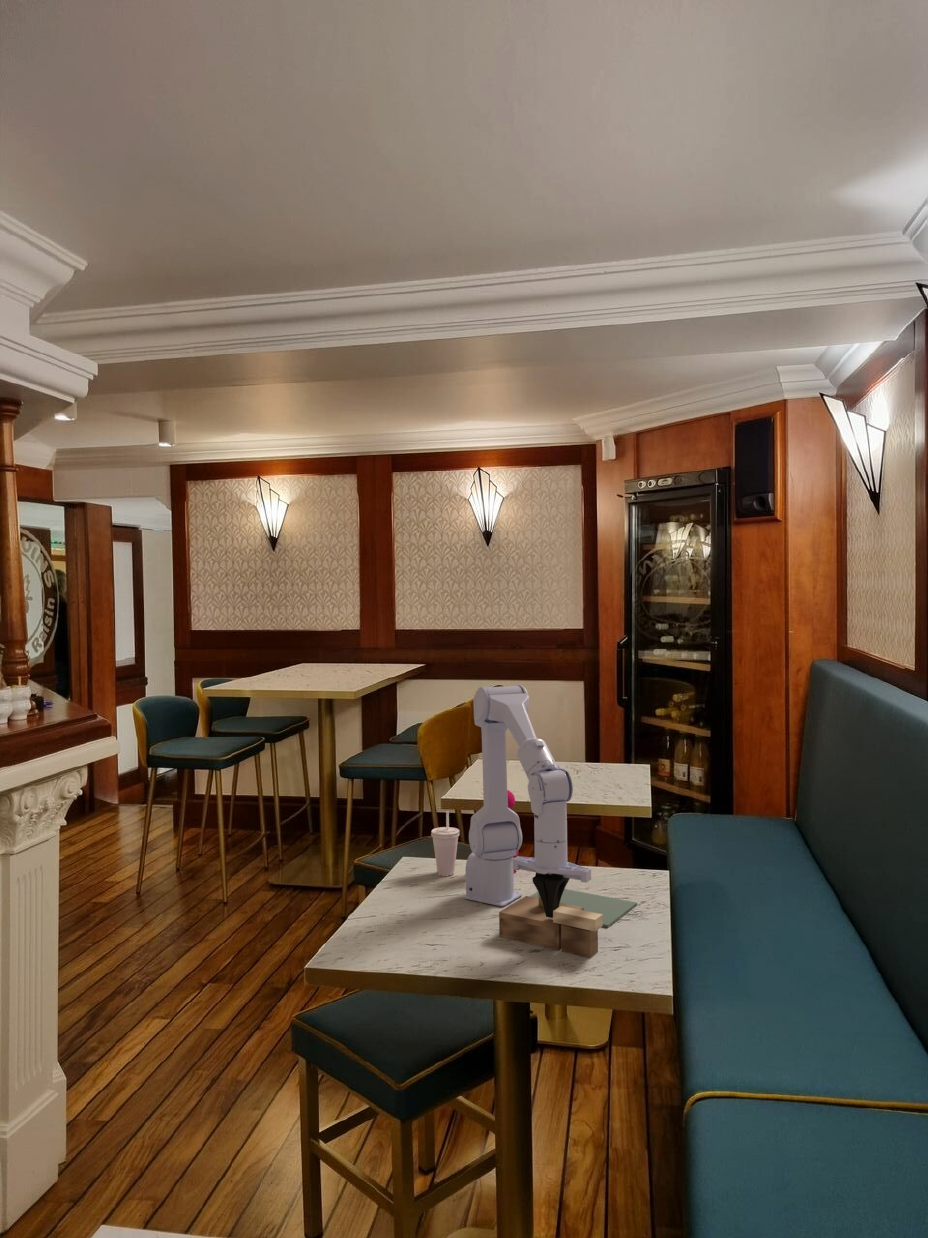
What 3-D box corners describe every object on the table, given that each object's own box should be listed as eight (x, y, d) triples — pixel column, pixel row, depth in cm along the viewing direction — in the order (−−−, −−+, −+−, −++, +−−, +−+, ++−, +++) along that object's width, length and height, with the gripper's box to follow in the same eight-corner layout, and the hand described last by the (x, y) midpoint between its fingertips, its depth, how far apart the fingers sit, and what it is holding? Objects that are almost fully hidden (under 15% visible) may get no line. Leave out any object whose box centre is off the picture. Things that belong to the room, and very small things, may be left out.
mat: (514, 908, 171) (514, 905, 171) (547, 888, 183) (547, 885, 183) (608, 928, 160) (608, 925, 160) (637, 905, 172) (637, 902, 172)
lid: (499, 917, 157) (498, 895, 157) (526, 901, 165) (526, 880, 165) (558, 930, 150) (558, 907, 150) (583, 912, 159) (583, 891, 158)
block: (553, 922, 151) (553, 911, 151) (561, 917, 153) (560, 906, 153) (595, 931, 146) (595, 920, 146) (602, 926, 149) (602, 914, 149)
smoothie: (456, 879, 190) (456, 815, 190) (428, 877, 191) (427, 814, 191) (462, 870, 196) (461, 808, 196) (435, 868, 198) (434, 807, 197)
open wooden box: (499, 936, 157) (499, 912, 157) (526, 919, 165) (526, 895, 165) (590, 958, 147) (590, 931, 147) (614, 938, 155) (614, 913, 155)
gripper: (503, 838, 153) (504, 915, 153) (578, 850, 145) (579, 931, 145) (523, 829, 159) (524, 903, 159) (596, 840, 151) (596, 918, 151)
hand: (551, 915), depth 153 cm, fingers closed
